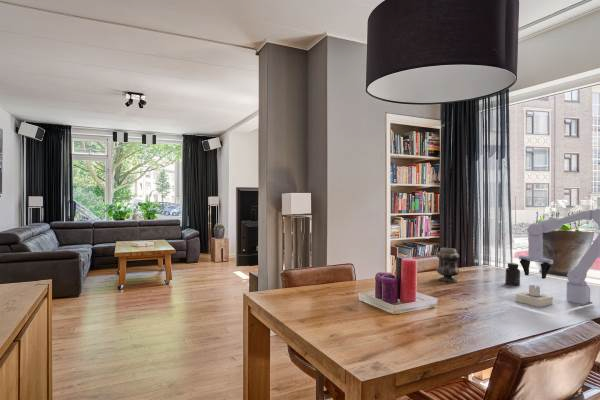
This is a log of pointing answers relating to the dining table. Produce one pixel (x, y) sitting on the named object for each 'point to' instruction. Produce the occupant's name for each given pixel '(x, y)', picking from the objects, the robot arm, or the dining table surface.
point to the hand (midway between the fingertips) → (535, 276)
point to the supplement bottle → (512, 275)
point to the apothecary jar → (447, 264)
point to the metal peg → (534, 291)
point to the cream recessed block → (533, 299)
